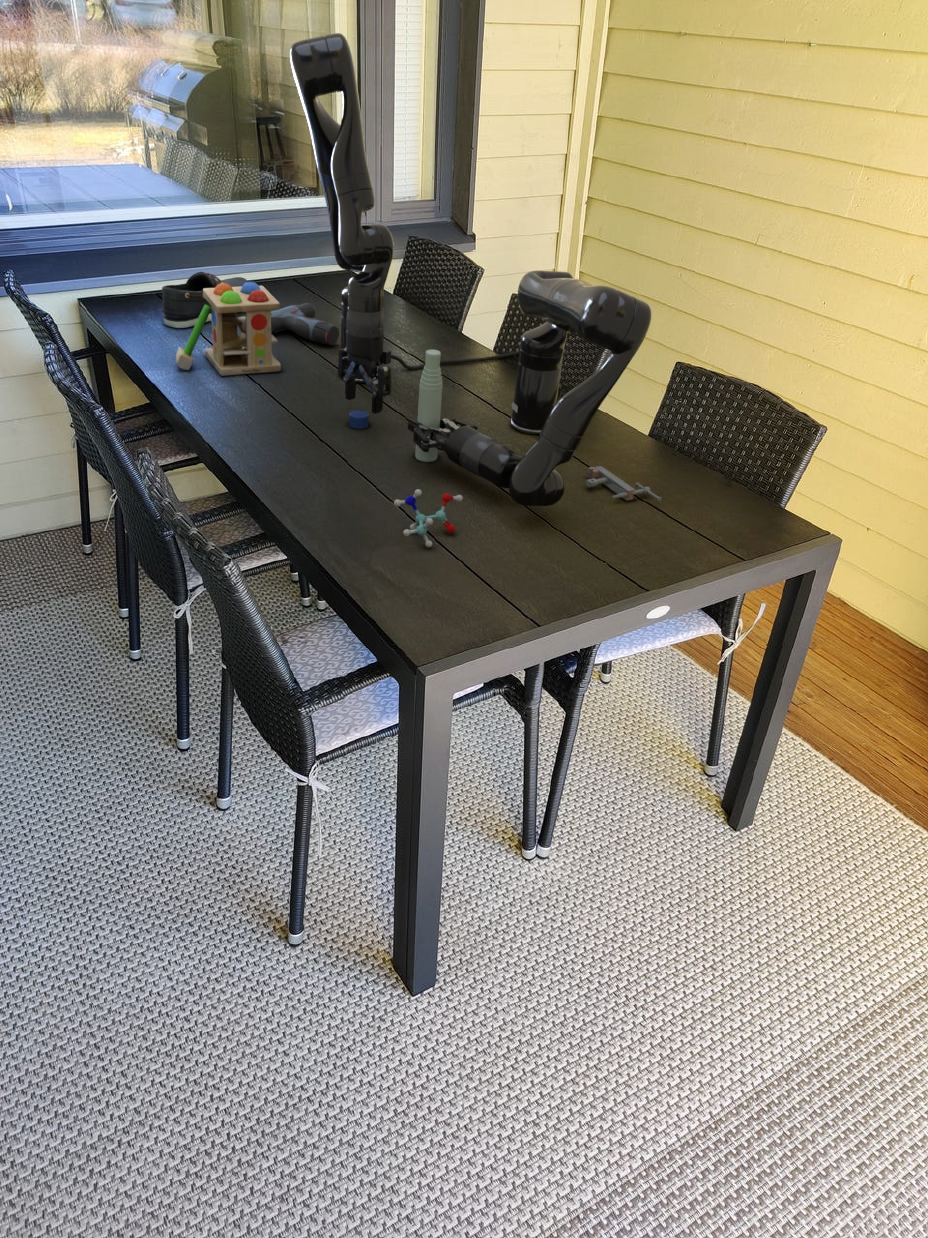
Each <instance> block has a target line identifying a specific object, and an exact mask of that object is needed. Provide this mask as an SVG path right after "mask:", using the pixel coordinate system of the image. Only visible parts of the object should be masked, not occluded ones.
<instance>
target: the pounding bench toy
mask: <svg viewBox="0 0 928 1238" xmlns="http://www.w3.org/2000/svg"><path fill="white" fill-rule="evenodd" d="M203 296H204V297H205V299H206V300H207V301H208V302H209V304H210V305H211V307H210V306H208V305H204V307H203V309H202V311H201V314H200V316H199V318H198V320H197V322H196V324H195V325H194V326H193V329H192V331H191V332H190V333H191V334H190V336H189V338H188V340H187V343H186V344H185V347H184V348H182V347H180V346H179V347H178V349H177V351H176V354H175V357H174V358H175V362H176V365H177V366H178V368H179V369H182V370H185V371H189V370H190V369H191V367H192V365H193V363H194V356H193V351H194V348H195V347H196V345H197V342H198V340H199V337H200V336H201V333H202V332H203V329H204V326H205V325H206V323H207V322H206V320H207V318H209V320H210V321H209V322H211V336H212V337H211V338H212V339H211V340H212V348H205V349H204V352H205V353H204V355H205V357H206V359H208V361H209V363H210V364H211V365H212V366H213V367H214V369H215V370H216V371H217V372H218V374H219V375H220V376H222V377H223V376H234V375H235V376H236V375H246V374H247V375H250V374H262V373H275V372H281V370H282V364H281V363H280V362H279V360H278V359H277V358H276V357H275V356H274V355H273V348H272V347H273V345H272V344H276V343H278V342H279V341H278V339H277V338H276V337H275V336H274V334H273V333H272V334H271V312H272V311H275V310H280V309H281V304H280V301H278V300H277V299H276V297H274V296H273V295H272V294H271V293H270V292H269V290H268V289H267V288H266V287H264V285H259V284H257V283H256V282H255V281H248V282H247V283H245V284H244V285H243V286H242V287H231V286H230V285H228V284H226V283H221V284H218V285H217V286H216V287H215V288H204V289H203ZM210 310H211V314H209V312H210ZM238 313H244V314H245V315H244V316H238ZM238 329H239V331H240V333H239V334H238Z"/></svg>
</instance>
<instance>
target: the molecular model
mask: <svg viewBox="0 0 928 1238" xmlns="http://www.w3.org/2000/svg"><path fill="white" fill-rule="evenodd" d="M422 494H423V491H422V490H421V489H419V488H417V489H415V490H414V494H413V495H409V496H407V497H406V499H402V500H401V499H397V498H396V499H395V500H394V501H393V504H394V506H395V507H401V505H405V504H407V505H408V506H411V507H412V509H413V511H414V513H415V515H416V516H415V522H414V523H411V524H410V525H409V529H408V528H406V529H404V530H403V532H402V533H403V536H405V537H410V535H413V534H417V535H418V536H421V537H423V540H424V541H425V543H424V545H425V547H426V548H432V546H433V542H432V540H430V539H429V538H428V535H427V533H428V527H429V526H432V525H433V524H434V519H436V521H439V522H440V523H442V525H443V527H445V530H446V532H447V533H448V534H454V533H455V532H456V526H455V525H454V524H452V523H450V521H449V520H448V518H447V515H446V512H445V510H446V507H447V504H448V503H450V502H451V501H456V502H459V503H460V502H462V501H463V499H464V498H463V495H461V494H457V495H451V494H450V493H448V492H446V493H444V494H442V496H441V500H442V501H443V502H442V504H441V508H440V510H438V511H436V512H435V514H433V515H432V514H431V515H425V514H423V513H421V512H420V511H419V509H418V507H417V505H416V503H417V498H418V497H420V496H422Z"/></svg>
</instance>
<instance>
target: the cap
mask: <svg viewBox="0 0 928 1238" xmlns="http://www.w3.org/2000/svg"><path fill="white" fill-rule="evenodd" d="M369 419H370V417H369V413H368V412H367V411H365V410H359V409H357V410H352V411H350V412H349V413H348V425H349V427H350V428H352V429H355V430H364V429H366V428H368V427H369V423H370V422H369V421H370V420H369Z"/></svg>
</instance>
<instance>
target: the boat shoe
mask: <svg viewBox="0 0 928 1238" xmlns="http://www.w3.org/2000/svg"><path fill="white" fill-rule="evenodd" d="M247 282H249V281H248V279H247V278H244V277H240V276H238V277H237V276H236V277H229V278H226V279H221V278H219V277H217V276H216V275H215V274H213V273H209V272H204V271H198V272H195V273H193V274H192V275H191V276H189V278H187V280H186V282H185V283H180V284H167V285H163V286H162V287H161V292H162V308H161V309H160V310H161V312H162V313H163V314H164V315H163V322H164V325H166V326H168V327H171V328H177V329H182V328H185V329H186V328H190V327H195V324H196V322H197V320H198V318H199V316H200V314H201V311H202V309H203V307H204V305H208V306H210V307H211V305H210V304H209V302H208V301H207V300H206V299H205V297H204V296H203V289H204V288H215V287H216V286H217V285H218V284H221V283H226V284H228V285H230V286H231V287H242V286H243V285H244V284H245V283H247ZM209 314H211V310H210V312H209ZM208 322H211V321H210V320H209V318H207V320H206V322H205V323H208Z"/></svg>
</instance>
